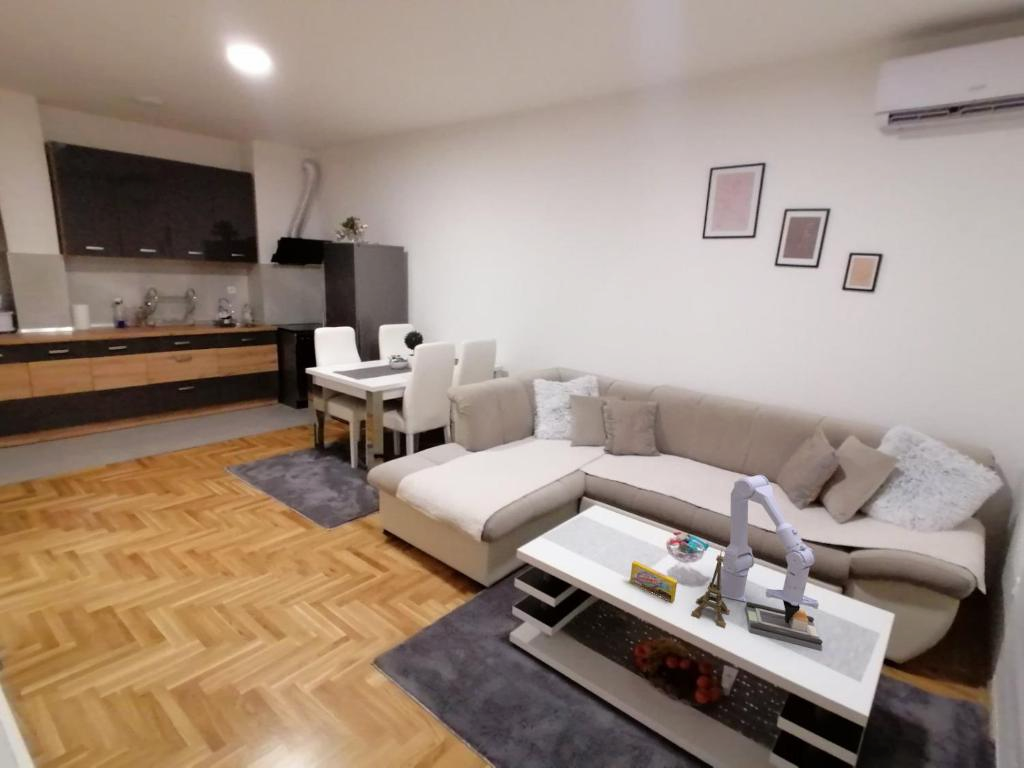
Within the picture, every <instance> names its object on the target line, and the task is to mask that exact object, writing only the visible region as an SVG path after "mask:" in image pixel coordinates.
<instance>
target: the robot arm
mask: <svg viewBox="0 0 1024 768" xmlns="http://www.w3.org/2000/svg"><path fill="white" fill-rule="evenodd" d="M773 491H774V488H773V486H772V485H771V484H770V481H769V480H768V478H767V477H766V476H764V475H763V474H756V475H753V476H752V475H751V476H749V477H743V478H739V479H738V480H736V481H734V484H733V489H732V491H731V492H730V530H729V531H730V533H729V535H730V536H729V537H730V539H729V540H730V541H729V542H730V543H729V544H728V545H727V547H726V548H725V549H724V556H723V557H724V561H723V562H722V565H723V566H722V565H721V586H722V591H721V597H723V598H726V599H727V598H728V599H732V600H736V601H740V602H747V598H746V593H745V590H746V585H747V579H748V574H749V571H750V569H751V568H753V567H754V565H755V558H754V555H753V548H752V547H750V546H749V545H748V542H749V541H748V539H749V538H748V537H749V531H748V530H749V528H748V527H749V501H751V502H754V503H757V504H760V505H761V506H762V507H763V509H764V510H765V512H766V514H767V516H768V517H769V518H770V519H771V521H772V522H773V524H774V525H775V531H774V532H775V534H776V536H777V538H778V540H779V541H780V543H781V545H782V547H783V548H784V550H785V552H786V555H785V559H786V562H787V563H786V564H787V569H786V574H785V579H784V583H783V587H782V588H783V589H772V588H771V589H770V588H766V590H765V596H766V598H768V599H770V598H774V599H778V600H782V602H783V607H784V610H785V622H786V623H788V624H789V622H790V619H791V617H792V616H793V615H794V614H795V613H796V612H797V611H799V610H801V607H800V605H803V606H807V607H811V608H813V609H815V610H818V609H819V600H817V599H814V598H811V597H809V596H805V595H804V594H805V590H806V586H807V582H808V577H809V572H810V568H811V567H810V566H811V565H814V564H815V562H816V555H815V552H814V550H813V549H812V548H810V547H808V546H807V545H806V544H805V543H804V542H803V540H802V538H801V536H800V535H799V532H798V530H797V528H796V527H794V525H793V524H791V523H788V522H787V520H786V518H785V515H784V514H783V512H782V510H781V508H780V506H779V504H778V501H777V500H776V498H775V496H774V492H773ZM717 574H718V573H717ZM714 584H716V585H717V577H716V579H715V582H714Z"/></svg>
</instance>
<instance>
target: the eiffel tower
mask: <svg viewBox="0 0 1024 768" xmlns="http://www.w3.org/2000/svg"><path fill="white" fill-rule="evenodd" d="M722 551H723V548H721V551H720V554H718V555H717V556H716V559H715V561H717V563H716V566H715V569H714V573H713V576H712V579H711V581H710V582H709V583H708V585H707V591H705V594H703V595H702V596H700V597H699V598H696V600H695V604H696V605H698V607H696V608H695V609H694V610H691V614H690V616H691V617H693V618H695V617H696V618H695V619H697V620H699V619H701V616H702V612H703V611H704V609H705V608H707V607H708V608H712V609H713V610H714V611H716V622H715V626H716V627H719V628H722V629H726V626H727V623H726V621H725V618H724V616H723V615H722V614H724V615H727V616H729V615H730V611H731V610H730V609H728V606H727V605H726V603H725V602H724V600H723V598H724V597H723V596H721V591H722V586H721V566H722V565H723V563H722V562H723V561H724V556H722V554H723V553H722ZM717 573H718V574H717ZM716 578H717V585H716V584H715V583H716Z"/></svg>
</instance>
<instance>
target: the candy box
mask: <svg viewBox="0 0 1024 768" xmlns="http://www.w3.org/2000/svg"><path fill="white" fill-rule="evenodd" d="M631 563H632V564H631V569H630V579H629V582H630V583H632V584H633V585H635V584H636V585H635V586H637V585H638V586H637V587H639V586H640V587H639V588H641V587H642V588H641V589H643V588H644V589H643V590H645V589H646V590H645V591H647V590H648V591H647V592H649V591H651V592H653V593H655V594H657V595H659V596H661V597H662V598H661V597H660V598H661V599H663V598H664V600H665V599H667V600H669V601H671V602H673V603H674V602H675V600H676V592H677V585H678V579H675V578H673V577H671V576H668V575H666V574H664V573H663V572H660V571H658V570H656V569H654V568H652V567H650V566H647V565H645V564H642V563H641V562H639V561H637V560H634V561H632V562H631ZM651 592H650V593H651ZM653 593H652V594H653ZM655 594H654V595H655ZM657 595H656V596H657ZM659 596H658V597H659ZM667 600H666V601H667ZM669 601H668V602H669ZM671 602H670V603H671Z"/></svg>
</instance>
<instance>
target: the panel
mask: <svg viewBox="0 0 1024 768" xmlns="http://www.w3.org/2000/svg"><path fill="white" fill-rule="evenodd" d="M744 608H745V609H744V610H745V614H746V619H747V624H748V625H747V626H748V629H749V633H750V634H754V635H758V636H763V637H767V638H770V639H775V640H779V641H782V642H786V643H791V644H794V645H798V646H802V647H807V648H810V649H814V650H818V651H822V648H823V645H822V644H823V643H824V642H823V640H822V639H820V637H819V634H818V631H817V629H816V627H815V623H814V622H815V618H814V616H809V615H807V618H808V626H807V630H806V632H803V631H799V630H795V629H791V627H790V623H789V624H788V623H786V622H785V609H780V608H776V607H772V606H768V605H765V604H764V605H763V604H759V603H755V602H751V601H746V603H745V606H744Z"/></svg>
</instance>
